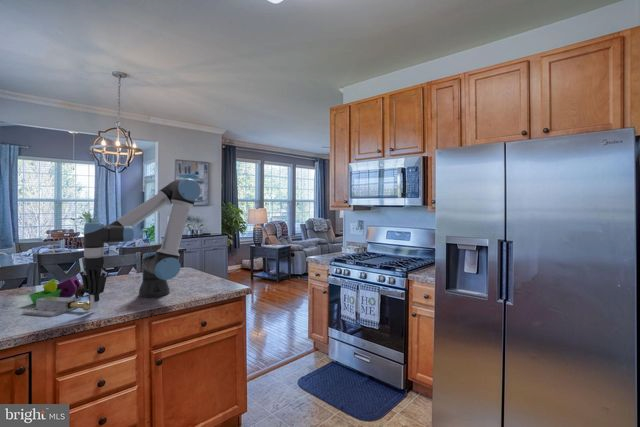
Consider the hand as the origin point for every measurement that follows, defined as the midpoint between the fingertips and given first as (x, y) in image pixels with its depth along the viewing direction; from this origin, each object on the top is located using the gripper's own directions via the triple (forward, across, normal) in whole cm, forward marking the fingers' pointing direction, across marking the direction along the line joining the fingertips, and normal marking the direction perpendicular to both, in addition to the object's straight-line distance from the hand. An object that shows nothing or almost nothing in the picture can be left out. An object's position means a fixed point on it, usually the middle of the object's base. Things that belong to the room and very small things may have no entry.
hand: (94, 308), depth 149 cm
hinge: (+2, +20, 0) cm, 20 cm away
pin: (+1, +12, 0) cm, 12 cm away
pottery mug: (+2, +26, -21) cm, 34 cm away
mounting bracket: (+2, +42, -20) cm, 47 cm away
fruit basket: (+2, +36, -9) cm, 38 cm away
